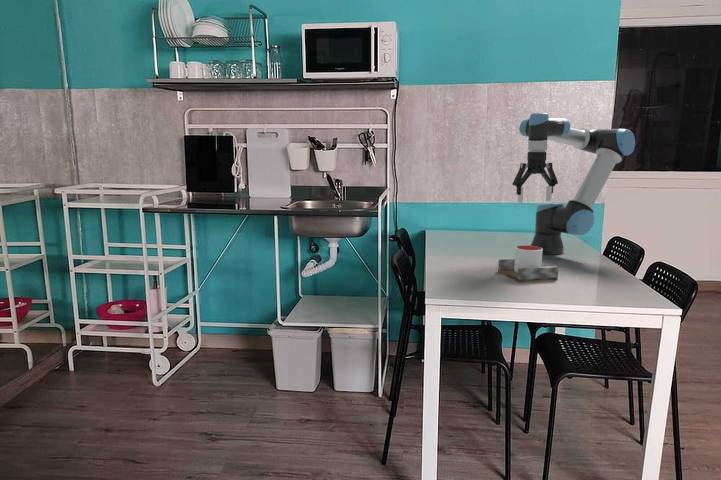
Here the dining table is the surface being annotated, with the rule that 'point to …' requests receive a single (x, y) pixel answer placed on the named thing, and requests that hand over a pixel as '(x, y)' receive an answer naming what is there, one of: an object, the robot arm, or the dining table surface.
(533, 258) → the cup
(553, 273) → the cradle
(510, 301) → the dining table surface
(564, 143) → the robot arm
